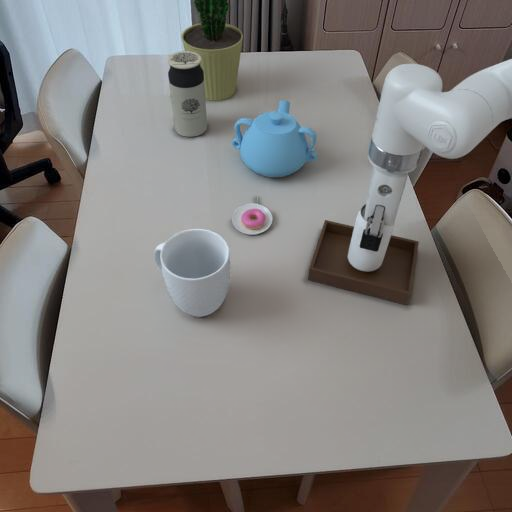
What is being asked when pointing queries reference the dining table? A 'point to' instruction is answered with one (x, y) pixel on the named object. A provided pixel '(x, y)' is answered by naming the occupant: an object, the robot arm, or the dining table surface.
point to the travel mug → (187, 93)
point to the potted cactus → (215, 48)
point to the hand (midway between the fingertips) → (372, 233)
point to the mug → (195, 270)
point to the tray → (368, 283)
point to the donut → (252, 219)
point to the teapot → (274, 143)
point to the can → (364, 257)
